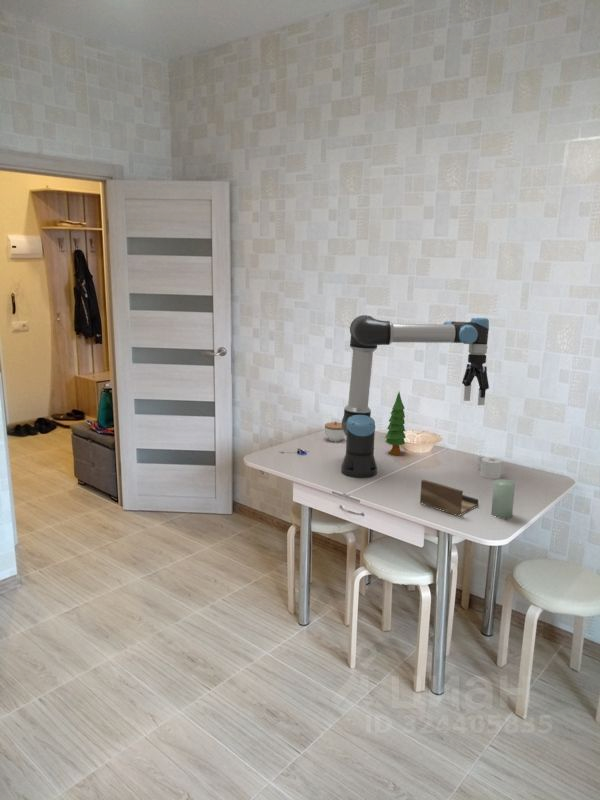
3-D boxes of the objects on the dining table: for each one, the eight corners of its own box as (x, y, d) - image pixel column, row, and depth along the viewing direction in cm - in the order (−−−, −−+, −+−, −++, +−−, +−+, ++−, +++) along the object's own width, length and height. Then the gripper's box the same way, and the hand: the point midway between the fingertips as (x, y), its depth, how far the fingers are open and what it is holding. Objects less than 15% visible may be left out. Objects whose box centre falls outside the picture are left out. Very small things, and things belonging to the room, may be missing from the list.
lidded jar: (346, 443, 301) (347, 424, 299) (325, 442, 301) (325, 424, 299) (344, 437, 312) (345, 419, 310) (323, 436, 311) (324, 418, 309)
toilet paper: (478, 469, 266) (480, 454, 264) (503, 475, 259) (505, 459, 257) (470, 474, 260) (471, 458, 258) (495, 480, 252) (497, 464, 251)
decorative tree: (392, 457, 281) (396, 392, 274) (380, 451, 288) (383, 389, 282) (409, 454, 285) (413, 391, 279) (396, 448, 293) (399, 387, 287)
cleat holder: (440, 494, 236) (442, 471, 234) (478, 505, 225) (480, 482, 223) (420, 503, 226) (421, 480, 224) (458, 516, 215) (460, 491, 213)
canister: (496, 519, 213) (499, 486, 211) (488, 511, 220) (491, 479, 217) (515, 518, 214) (518, 486, 211) (506, 510, 221) (509, 479, 218)
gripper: (500, 356, 252) (495, 407, 255) (472, 352, 276) (468, 399, 279) (483, 355, 251) (479, 406, 253) (456, 352, 275) (453, 398, 278)
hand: (473, 402), depth 266 cm, fingers open, 13 cm apart
